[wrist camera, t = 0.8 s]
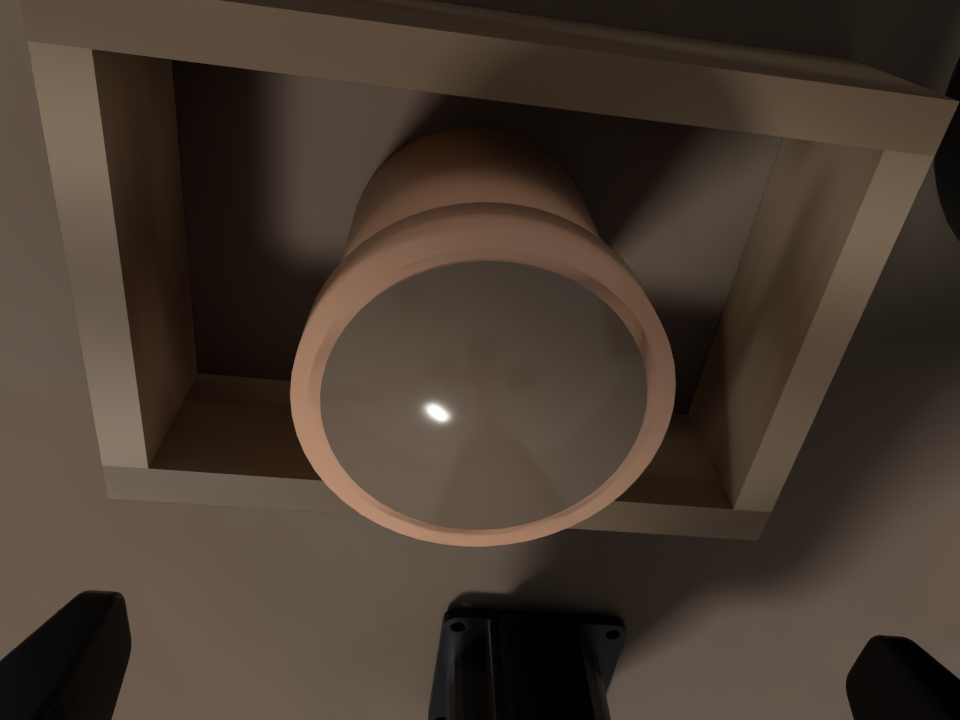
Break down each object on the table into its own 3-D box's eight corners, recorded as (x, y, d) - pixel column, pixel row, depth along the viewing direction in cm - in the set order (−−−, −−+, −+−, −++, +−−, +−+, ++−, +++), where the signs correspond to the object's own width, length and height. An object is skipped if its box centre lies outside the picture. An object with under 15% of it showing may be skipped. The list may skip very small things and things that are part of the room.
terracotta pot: (572, 368, 21) (625, 557, 15) (335, 347, 20) (289, 537, 14) (628, 132, 17) (727, 255, 11) (343, 96, 17) (288, 208, 11)
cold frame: (710, 443, 22) (758, 541, 19) (162, 399, 21) (108, 498, 17) (853, 60, 17) (959, 101, 13) (112, -45, 15) (15, -28, 11)
